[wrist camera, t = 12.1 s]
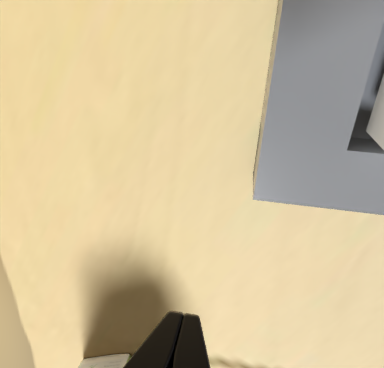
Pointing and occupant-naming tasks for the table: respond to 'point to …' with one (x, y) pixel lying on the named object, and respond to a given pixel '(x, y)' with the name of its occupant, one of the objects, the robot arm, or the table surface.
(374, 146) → the socket
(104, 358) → the syrup box
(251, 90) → the table surface
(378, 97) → the plug
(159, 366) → the robot arm
